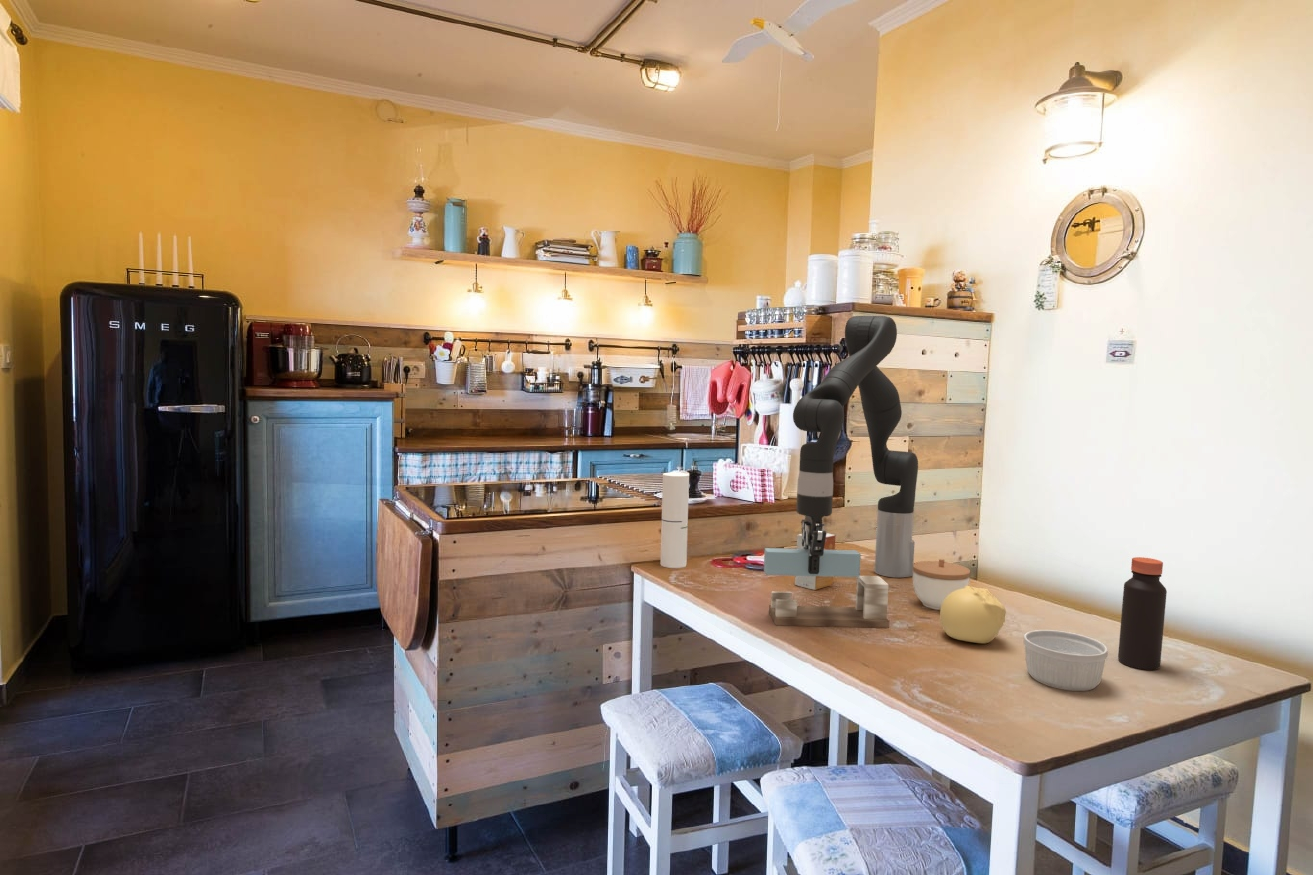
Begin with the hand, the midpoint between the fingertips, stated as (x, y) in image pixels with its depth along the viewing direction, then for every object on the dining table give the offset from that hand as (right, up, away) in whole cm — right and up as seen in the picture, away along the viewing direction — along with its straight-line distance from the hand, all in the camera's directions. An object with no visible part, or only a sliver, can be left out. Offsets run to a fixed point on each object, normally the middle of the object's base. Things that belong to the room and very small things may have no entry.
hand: (811, 570), depth 164 cm
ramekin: (+39, -15, -28) cm, 50 cm away
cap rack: (+4, -11, +1) cm, 11 cm away
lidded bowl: (+33, -11, +13) cm, 37 cm away
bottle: (+58, -14, -20) cm, 63 cm away
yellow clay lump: (+31, -13, -9) cm, 34 cm away
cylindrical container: (-29, -6, +44) cm, 53 cm away
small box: (+6, -9, +28) cm, 30 cm away
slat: (0, -1, 0) cm, 1 cm away
